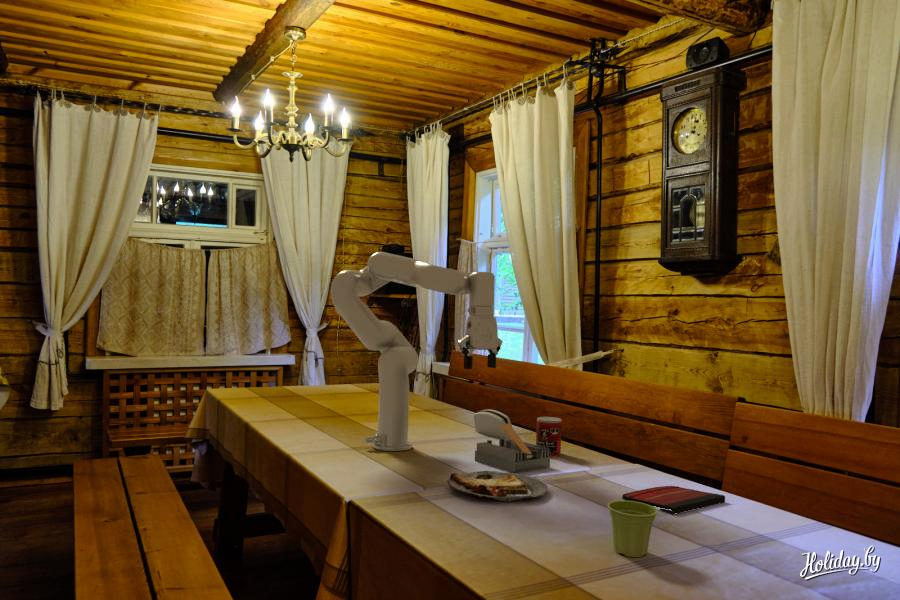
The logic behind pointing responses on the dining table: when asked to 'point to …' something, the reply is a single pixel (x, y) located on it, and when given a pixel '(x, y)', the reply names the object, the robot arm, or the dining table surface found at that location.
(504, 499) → the food plate
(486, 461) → the heatsink
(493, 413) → the white curved block
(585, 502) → the dining table surface
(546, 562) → the dining table surface
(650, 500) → the binder
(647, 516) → the plant pot
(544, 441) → the canned food
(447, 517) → the dining table surface
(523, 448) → the orange brown flat bar
